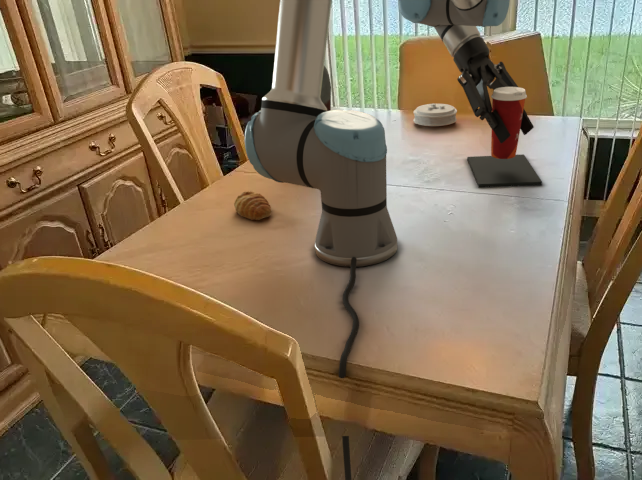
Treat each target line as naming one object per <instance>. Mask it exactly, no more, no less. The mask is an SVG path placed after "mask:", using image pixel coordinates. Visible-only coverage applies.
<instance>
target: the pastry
mask: <svg viewBox="0 0 642 480" xmlns="http://www.w3.org/2000/svg"><path fill="white" fill-rule="evenodd" d="M233 205H234V208H235V211H236V213H238V215H239V216H241V217H244V218H245V219H248V220H251V221H252V220H256V221H260V220H262V219H265V218H268V217H271V214H272V213H273V211H272V208H271V205H270V203H269V200H267V198H265V196H264V195H262V194H261V193H257V192H256V193H255V192H254V191H249V190H248V191H244V192H242V193H240V194H239V195H238V196H237V197H236V198H235V199H234V203H233Z"/></svg>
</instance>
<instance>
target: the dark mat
mask: <svg viewBox="0 0 642 480" xmlns="http://www.w3.org/2000/svg"><path fill="white" fill-rule="evenodd" d="M466 158H467V159H466V160H467V162H468V164H469V167H470V171H471V173H472V175H473V177H474V180H475V182H476V185H477V187H478V188H479V189H480V188H505V187H528V186H529V187H531V186H542V185H543V180H542V179H541V177H540V176H539V175H538V174H537V171H536V170H535V169H534V167H533V166H532V164H531V163H530V161H529V160H528V158H527V156H526V155H525V154H522V153H521V154H516V155H515V157H513V158H510V159H498V158H494V157H492V156H491V155H477V156H475V155H474V156H466Z"/></svg>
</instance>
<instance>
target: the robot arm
mask: <svg viewBox="0 0 642 480" xmlns="http://www.w3.org/2000/svg"><path fill="white" fill-rule="evenodd" d="M397 4H398V5H397V7H398V10H399V13H400V15H401V16H402V18H404V19H405V20H407V21H409V22H411V23H412V24H419V25H424V26H428V27H432V28H434V30H435V31H436V33H437V34H438V36H439V38H440V39H441V41H442V43H443V44H444V46H445V48H446V49H447V51H448V53H449V55H450V56H451V57H452V58H453V59H452V61H453V62H454V64H455V66H456V67H457V70H458V71H459V72H460V73H461V74H460V75H459V76H458V78H457V79H456V80H457V82H458V84H459V85H460V86H461V87H462V89H463V91H464V95H465V96H466V98H467V100H468V103H469V105H470V107H471V110H472V112H473V114H474V116H475V117H476V118H479V120H480V121H484V120H485V121H486V122H487V124H488V125H489V128H490V129H491V130H492V129H493V131H494V133H495V134H496V136H497V138H498V139H499V141H500V143H503V142H504V141H505V140H506V139H508V138H509V137H510V136H511V135H510V133H509V131H508V130H507V128H506V126H505V124H504V123H503V121H502V119H501V117H500V116H499V114H498V112H497V111H496V110H494V111H493V112H492V102H491V98H490V97H491V96H490V92H489V90H488V89H490V90H493V91H494V90H495V89H496V88H501V87H519V86H518V84H517V83H516V81H515V80H514V79H513V77H512V76H511V75H510V73H509V72H508V70H507V68H506V66H505V64H504V62H503V61H499V62H498V63H497V64H496V63H494V62H493V61H492V60H491V59H490V56H489V55H490V48H489V46H488V45H487V44H486V42H485V40H484V38H483V37H482V36H481V32H480V30H479V29H478V27H481V28H485V27H499V26H500V25H502V24H503V23H504V22H505V20H506V18H507V15H508V12H509V8H510V0H397ZM278 6H279V8H278V9H279V10H278V15H277V16H278V17H277V29H276V40H275V51H274V60H273V61H274V62H273V70H272V71H273V72H272V81H271V82H272V83H271V89H270V91H268V92H267V93H266V94H265V95H264V96H263V97H262V98H261V107H260V110H258V112H255V113H254V114H252V116H251V117H250V119H251V120H249V121H248V122H247V123H246V127H245V131H244V148H245V153H246V156H247V159H248V161H249V163H250V164H251V166H252V167H253V169H254V171H255V172H256V173H258V174H259V176H261V177H263V178H265V179H269V180H272V181H274V182H276V183H281V184H289V185H296V186H300V187H305V188H311V189H314V190H319V192H320V201H321V202H320V203H321V214H320V218H319V223H318V226H317V229H316V235H315V239H314V249H315V251H314V252H315V254H316V257H318V258H319V260H322V261H323V262H325V263H327V264H329V265H333V266H338V267H345V268H346V267H347V268H348V267H349V268H350V272H349V273H350V274H349V280H348V284H347V285H346V287H345V289H344V290H343V291H344V292H343V293H342V303H343V306H344V308H345V310H346V311H347V313H348V314H349V315H350V317H351V319H352V327H351V331H350V333H349V335H348V337H347V340H346V343H345V345H344V348H343V351H342V353H341V356H340V359H339V364H338V378H339V379H345V378H346V374H347V363H348V359H349V355H350V353H351V350H352V348H353V345H354V342H355V340H356V337H357V334H358V332H359V329H360V318H359V315H358V313H357V311H356V310H355V309H354V307H353V306H352V305H351V303H350V300H349V299H350V294H351V292H352V290H353V288H354V286H355V283H356V278H357V277H356V276H357V268H358V267H367V266H373V265H376V264H379V263H383V262H384V261H387V260H388V259H390V258H392V257H393V256H394V255H395V254H396V253H397V251H398V236H397V233H396V230H395V227H394V225H393V221H392V218H391V215H390V212H389V210H388V202H387V198H388V197H387V195H388V194H387V191H388V190H387V189H388V188H387V187H388V186H387V154H388V145H387V143H386V142H387V141H386V131H385V127H384V125H383V123H382V122H381V121H380V120H379V118H377V117H375V116H373V115H372V114H369V113H366V112H362V111H358V110H352V109H347V110H343V109H331V111H327V108H326V107H325V105H324V104H323V102H322V101H321V98H320V95H321V86H322V78H323V69H324V66H325V61H326V52H327V43H328V35H329V26H330V20H331V19H330V17H331V9H332V0H279V5H278ZM534 128H535V126H534V124H533V122H532V121H531V119H530V118H529V115H528V112H527V111H526V109H525V108H524V109H523V115H522V121H521V127H520V132H522V135H523V136H526V135H527V134H528V133H530V132H531V131H532V130H533V129H534ZM341 440H342V454H343V456H342V457H343V468H344V480H353V479H352V465H351V451H350V450H351V449H350V436H349V435H342V436H341Z"/></svg>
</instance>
